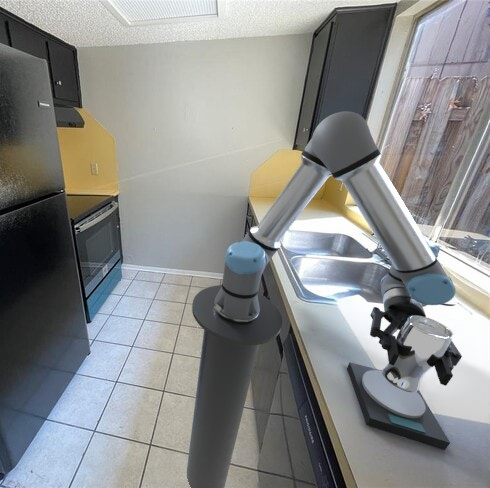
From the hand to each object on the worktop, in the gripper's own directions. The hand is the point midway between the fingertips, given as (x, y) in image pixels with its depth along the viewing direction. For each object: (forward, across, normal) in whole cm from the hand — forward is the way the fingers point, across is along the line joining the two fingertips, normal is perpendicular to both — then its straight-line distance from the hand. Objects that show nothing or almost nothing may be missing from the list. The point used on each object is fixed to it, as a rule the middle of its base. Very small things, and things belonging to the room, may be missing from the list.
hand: (419, 369), depth 49 cm
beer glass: (-5, 0, -8) cm, 10 cm away
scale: (-4, 0, -15) cm, 15 cm away
